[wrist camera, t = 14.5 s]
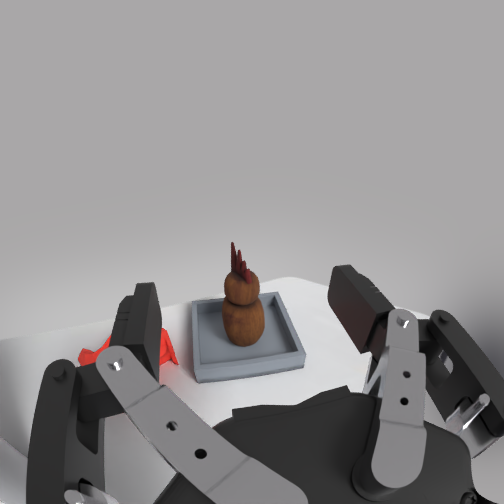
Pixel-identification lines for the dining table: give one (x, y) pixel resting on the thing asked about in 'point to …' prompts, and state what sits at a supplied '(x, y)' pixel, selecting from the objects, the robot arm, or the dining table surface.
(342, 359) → the dining table surface
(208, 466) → the robot arm
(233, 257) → the wooden figurine
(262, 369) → the slate dish
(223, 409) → the dining table surface
